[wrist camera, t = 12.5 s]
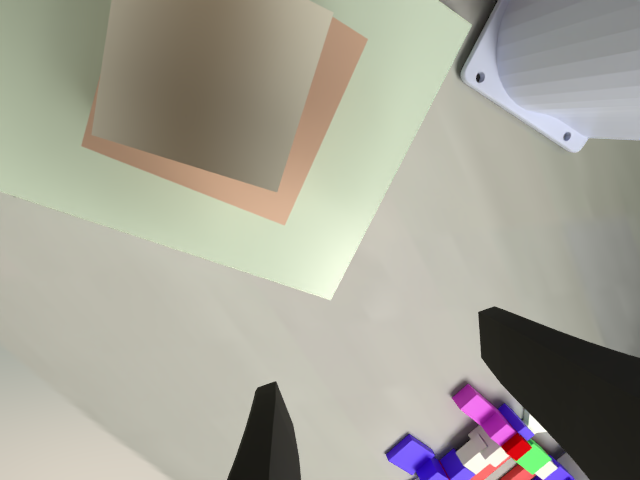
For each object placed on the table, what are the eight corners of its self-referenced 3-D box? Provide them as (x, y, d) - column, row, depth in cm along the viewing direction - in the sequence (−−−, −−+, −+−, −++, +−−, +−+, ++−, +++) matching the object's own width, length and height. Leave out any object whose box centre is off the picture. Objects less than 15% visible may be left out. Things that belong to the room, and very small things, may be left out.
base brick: (346, 54, 15) (368, 39, 12) (279, 208, 17) (284, 225, 14) (170, -53, 13) (147, -102, 10) (113, 141, 15) (81, 145, 12)
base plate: (459, 30, 17) (472, 25, 16) (327, 292, 20) (330, 300, 19) (64, -256, 11) (47, -290, 10) (-21, 175, 15) (-39, 178, 14)
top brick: (302, 54, 12) (333, 12, 8) (268, 168, 13) (277, 192, 9) (179, -1, 11) (125, -92, 6) (153, 130, 12) (91, 134, 7)
